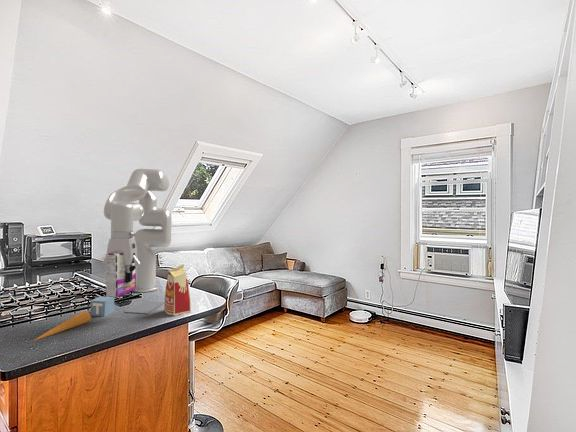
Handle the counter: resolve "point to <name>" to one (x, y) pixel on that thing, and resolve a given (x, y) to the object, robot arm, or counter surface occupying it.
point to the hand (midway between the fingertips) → (121, 281)
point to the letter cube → (102, 306)
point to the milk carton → (177, 292)
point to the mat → (144, 307)
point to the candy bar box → (117, 276)
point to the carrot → (69, 324)
